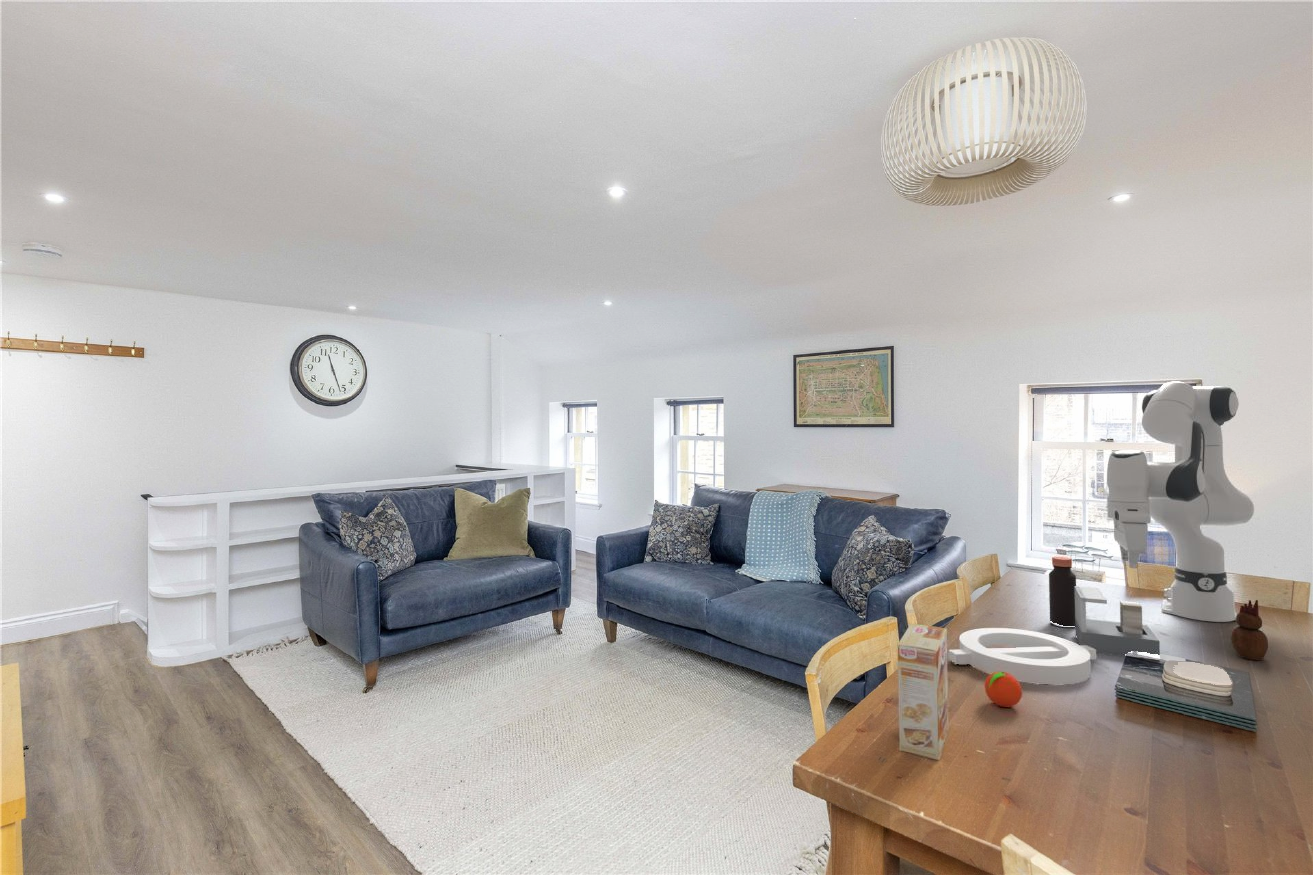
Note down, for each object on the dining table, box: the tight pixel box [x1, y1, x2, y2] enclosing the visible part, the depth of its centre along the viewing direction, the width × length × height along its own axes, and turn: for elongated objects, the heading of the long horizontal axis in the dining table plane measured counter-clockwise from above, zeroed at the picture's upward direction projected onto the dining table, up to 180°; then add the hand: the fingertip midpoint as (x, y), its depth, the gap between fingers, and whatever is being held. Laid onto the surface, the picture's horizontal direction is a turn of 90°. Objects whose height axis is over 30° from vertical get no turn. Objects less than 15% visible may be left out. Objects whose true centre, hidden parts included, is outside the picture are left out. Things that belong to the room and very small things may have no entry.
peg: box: [1119, 600, 1143, 635], centre depth 160 cm, size 4×4×12 cm
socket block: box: [1074, 585, 1161, 657], centre depth 161 cm, size 14×16×14 cm
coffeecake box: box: [897, 623, 949, 761], centre depth 115 cm, size 15×7×20 cm, turn 148°
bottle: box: [1048, 556, 1077, 626], centre depth 181 cm, size 7×7×20 cm
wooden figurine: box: [1230, 599, 1269, 661], centre depth 152 cm, size 7×6×15 cm
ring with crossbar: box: [947, 627, 1097, 686], centre depth 152 cm, size 28×28×5 cm
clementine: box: [984, 672, 1023, 708], centre depth 128 cm, size 8×7×7 cm
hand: (1129, 564), depth 160 cm, fingers open, 8 cm apart
